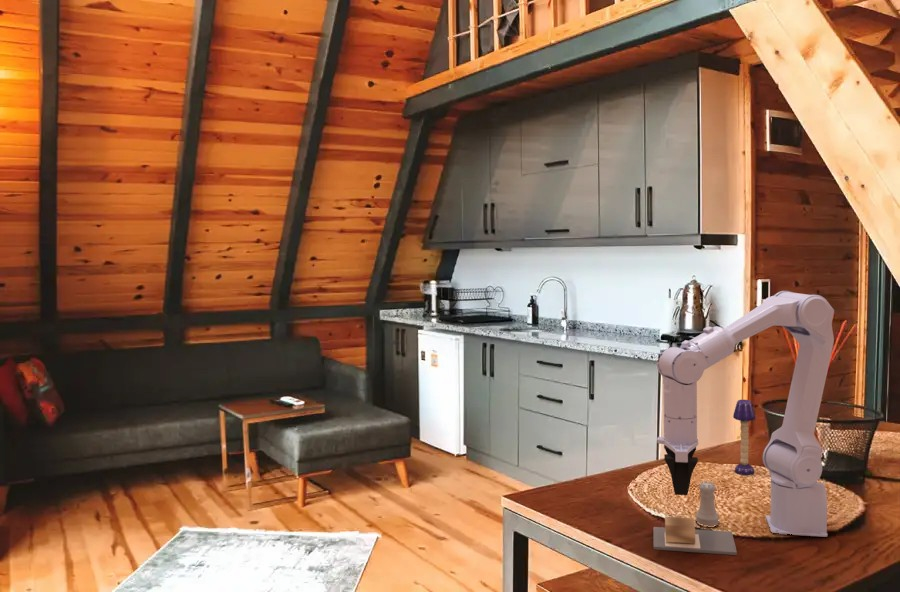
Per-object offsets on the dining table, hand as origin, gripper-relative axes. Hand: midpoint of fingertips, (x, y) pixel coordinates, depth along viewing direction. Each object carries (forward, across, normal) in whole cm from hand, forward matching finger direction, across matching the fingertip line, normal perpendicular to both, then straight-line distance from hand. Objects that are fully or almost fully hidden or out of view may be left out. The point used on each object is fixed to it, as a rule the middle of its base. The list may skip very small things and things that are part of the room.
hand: (680, 489), depth 140 cm
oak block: (+9, 0, 0) cm, 9 cm away
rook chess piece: (+10, -10, +5) cm, 15 cm away
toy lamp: (+10, -41, +15) cm, 45 cm away
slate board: (+10, -1, +2) cm, 10 cm away
